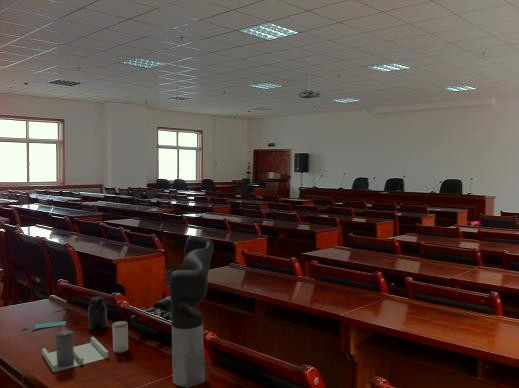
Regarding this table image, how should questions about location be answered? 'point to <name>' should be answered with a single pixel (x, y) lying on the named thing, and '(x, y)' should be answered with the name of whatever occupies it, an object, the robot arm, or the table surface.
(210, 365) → the table surface
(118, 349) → the white cylinder
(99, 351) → the divided tray
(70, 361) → the grey cylinder
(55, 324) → the surgical mask
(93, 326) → the supplement bottle
